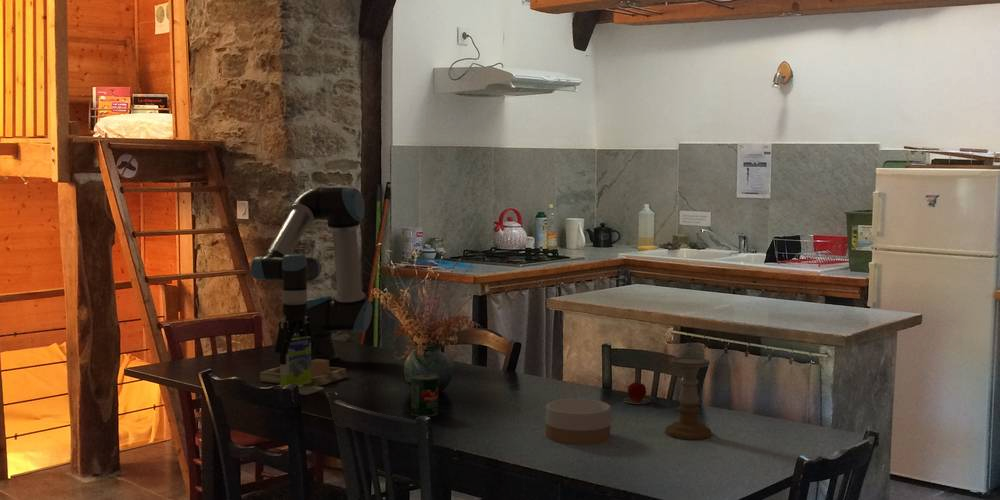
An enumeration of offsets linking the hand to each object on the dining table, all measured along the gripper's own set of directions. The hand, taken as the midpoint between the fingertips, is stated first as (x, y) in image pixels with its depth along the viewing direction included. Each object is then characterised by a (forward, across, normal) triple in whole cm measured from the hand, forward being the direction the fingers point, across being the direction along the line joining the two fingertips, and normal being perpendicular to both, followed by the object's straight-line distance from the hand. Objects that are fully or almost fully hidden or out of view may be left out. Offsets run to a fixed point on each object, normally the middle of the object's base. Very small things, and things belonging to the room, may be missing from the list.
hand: (295, 371), depth 329 cm
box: (+5, 0, 0) cm, 5 cm away
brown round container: (+6, +14, +102) cm, 103 cm away
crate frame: (+6, -14, -8) cm, 17 cm away
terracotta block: (+6, -14, -1) cm, 16 cm away
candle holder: (+6, -2, +128) cm, 128 cm away
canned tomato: (+6, +10, +52) cm, 54 cm away
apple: (+6, -32, +104) cm, 108 cm away
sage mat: (+6, 0, 0) cm, 6 cm away
